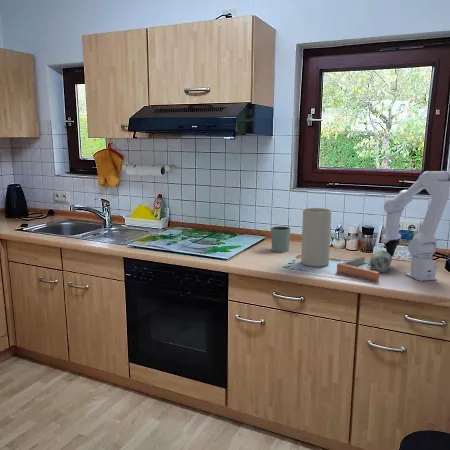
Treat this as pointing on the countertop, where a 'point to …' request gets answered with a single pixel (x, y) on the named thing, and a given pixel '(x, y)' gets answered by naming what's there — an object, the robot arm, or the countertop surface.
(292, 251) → the countertop surface
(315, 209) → the cylinder vase
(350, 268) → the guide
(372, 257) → the grey-green rounded piece
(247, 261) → the countertop surface
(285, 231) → the green cup
